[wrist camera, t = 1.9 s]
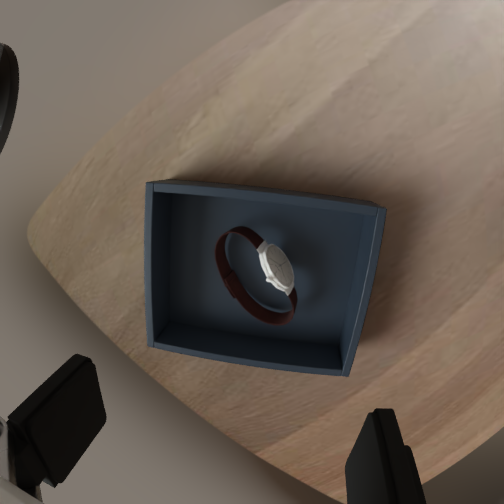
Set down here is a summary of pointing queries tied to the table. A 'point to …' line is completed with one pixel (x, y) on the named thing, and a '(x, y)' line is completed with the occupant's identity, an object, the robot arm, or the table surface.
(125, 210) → the table surface
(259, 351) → the tray
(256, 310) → the watch
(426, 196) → the table surface
